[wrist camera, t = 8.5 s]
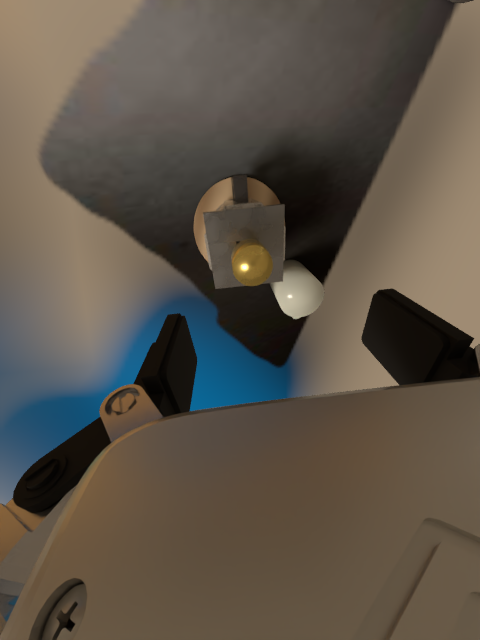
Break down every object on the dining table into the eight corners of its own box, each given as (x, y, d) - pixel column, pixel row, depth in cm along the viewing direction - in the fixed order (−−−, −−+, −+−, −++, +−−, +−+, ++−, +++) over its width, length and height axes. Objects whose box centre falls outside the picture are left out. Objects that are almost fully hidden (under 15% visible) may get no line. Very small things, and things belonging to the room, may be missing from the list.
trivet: (285, 171, 33) (286, 171, 33) (283, 269, 42) (284, 270, 41) (184, 182, 33) (184, 182, 32) (203, 278, 42) (203, 279, 41)
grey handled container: (268, 174, 33) (291, 168, 22) (269, 257, 40) (287, 285, 29) (202, 181, 33) (191, 179, 22) (215, 263, 40) (211, 293, 29)
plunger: (262, 205, 33) (292, 220, 19) (263, 253, 37) (289, 297, 23) (214, 210, 33) (207, 230, 18) (221, 258, 37) (219, 305, 23)
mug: (307, 257, 41) (327, 273, 33) (304, 299, 46) (320, 322, 38) (269, 261, 41) (279, 279, 33) (269, 303, 46) (278, 326, 38)
